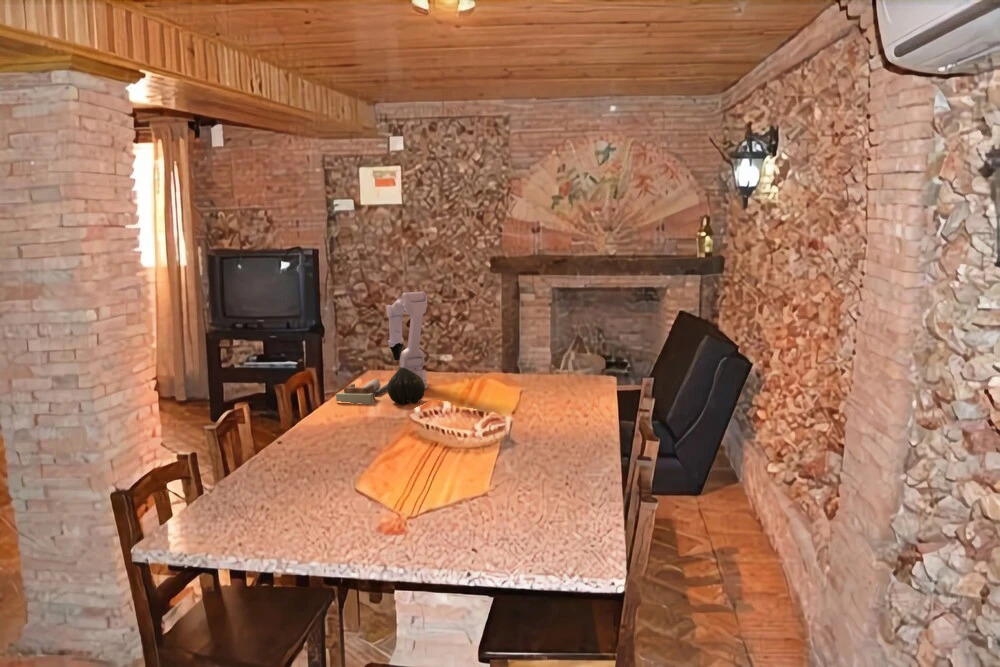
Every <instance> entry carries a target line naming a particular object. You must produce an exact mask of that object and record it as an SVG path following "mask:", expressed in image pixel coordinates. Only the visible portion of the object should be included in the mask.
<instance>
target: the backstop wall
mask: <svg viewBox="0 0 1000 667" xmlns="http://www.w3.org/2000/svg"><path fill="white" fill-rule="evenodd" d="M335 396H336V397H335V401H341V402H350V403H362V404H361V405H372V404H374V399H373V393H344V392H337V393H336V394H335Z"/></svg>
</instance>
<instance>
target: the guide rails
mask: <svg viewBox="0 0 1000 667" xmlns="http://www.w3.org/2000/svg"><path fill="white" fill-rule="evenodd" d="M377 380H378V381H379V382H380V379H377ZM364 386H365V385H363V386H362V387H364ZM387 390H388V383H387V384H385V385H384V386H382V387H380V388H378V389H377V390H376V391H375V392H374V397H379V395H380V396H381V395H383V394H384V393H386V392H388V391H387ZM382 393H383V394H382Z"/></svg>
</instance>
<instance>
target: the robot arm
mask: <svg viewBox="0 0 1000 667" xmlns="http://www.w3.org/2000/svg"><path fill="white" fill-rule="evenodd" d="M427 308H428V297H427V293H426V292H425V291H424V290H422V291H414V292H413V291H412V292H402V294H401V298H397V299H396V301H395V302H393V304H391V305H390V304H387V305H386V311H385V312H386V316H387V318H388V326H389V327H388V330H389V332H388V333H389V339H388V340H387V343H388V347H389V349H390V351H391V353H392V355H393V356H392V357H393V360H394V361H399V366H400V368H402V367H403V368H406V369H408V370H410V371H412V372H414V373H415V374H417V375H418V376H420V377H421V379H422V380H423V382H424V385H425V388H426V389H427V388H428V387H429V386H428V378H427V377H428V376H427V370H425V369H423V367H424V365H425V362H426V361H425V353H424V351H423V350H422V349H420V342H421V336H422V327H423V316H424V314H425V313H426V312H427ZM404 313H406V314H407V315H408V316H410V323H409V331H408V339H407V346H406V348H405V349H404V350H403V347H404V340H405V339H404V337H403V325H402V321H403V320H404V318H403V316H404ZM402 350H403V351H402Z"/></svg>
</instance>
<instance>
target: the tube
mask: <svg viewBox="0 0 1000 667" xmlns="http://www.w3.org/2000/svg"><path fill="white" fill-rule="evenodd" d="M370 384H374V393H375V391H377V390H378V389H380V388H381V383H380V380H379V381H378V380H377V379H371V380H370V381H369V382H368V383H366V384H365V385H363V386H364V387H367V386H368V385H370Z"/></svg>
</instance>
